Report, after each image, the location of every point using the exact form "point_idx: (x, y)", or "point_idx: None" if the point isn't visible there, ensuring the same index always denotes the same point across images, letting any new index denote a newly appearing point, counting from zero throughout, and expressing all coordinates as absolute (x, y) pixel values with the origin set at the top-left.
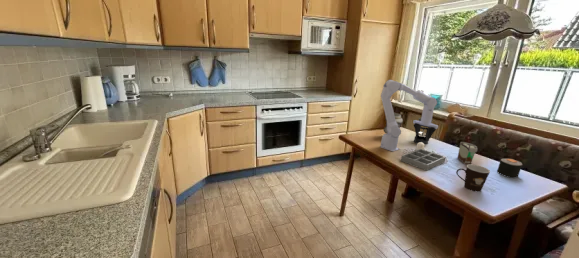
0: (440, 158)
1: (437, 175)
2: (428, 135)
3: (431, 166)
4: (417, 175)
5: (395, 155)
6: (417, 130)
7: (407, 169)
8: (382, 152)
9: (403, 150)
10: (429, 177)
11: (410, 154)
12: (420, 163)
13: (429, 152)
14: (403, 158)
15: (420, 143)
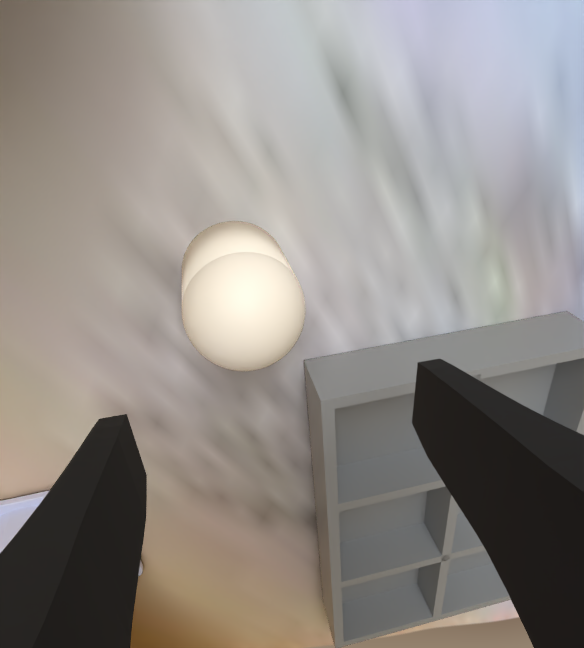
0: (578, 429)
1: None
2: (463, 497)
3: None
4: (489, 618)
5: (227, 583)
6: (121, 608)
7: (422, 624)
8: None
9: (148, 453)
10: None
11: (354, 580)
12: (479, 598)
13: None
14: (349, 624)
15: (261, 365)
